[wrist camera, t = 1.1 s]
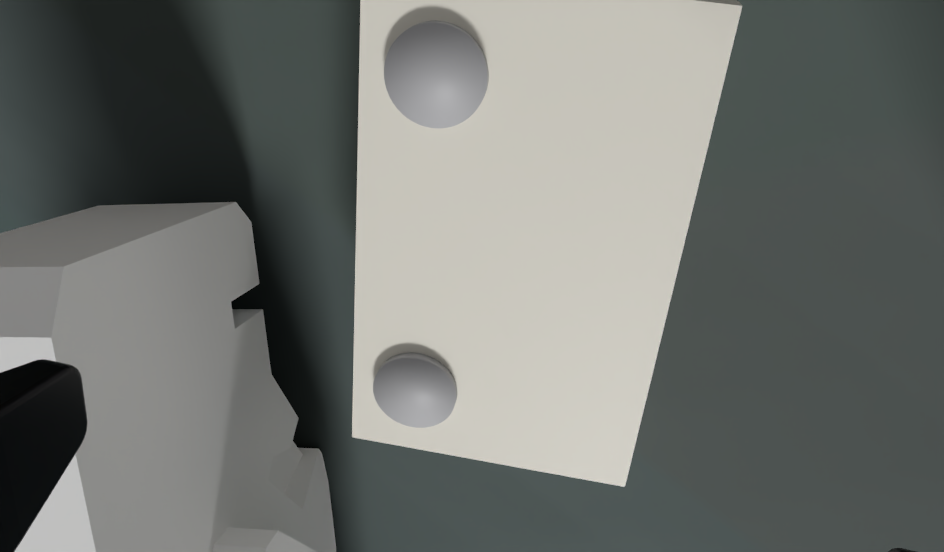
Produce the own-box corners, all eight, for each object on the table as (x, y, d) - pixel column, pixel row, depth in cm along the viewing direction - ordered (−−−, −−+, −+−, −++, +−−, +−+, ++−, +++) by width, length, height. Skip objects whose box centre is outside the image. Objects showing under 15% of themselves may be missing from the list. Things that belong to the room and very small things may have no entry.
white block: (711, -27, 14) (743, 8, 11) (623, 370, 19) (624, 494, 15) (421, -60, 15) (357, -37, 11) (400, 333, 19) (348, 443, 15)
